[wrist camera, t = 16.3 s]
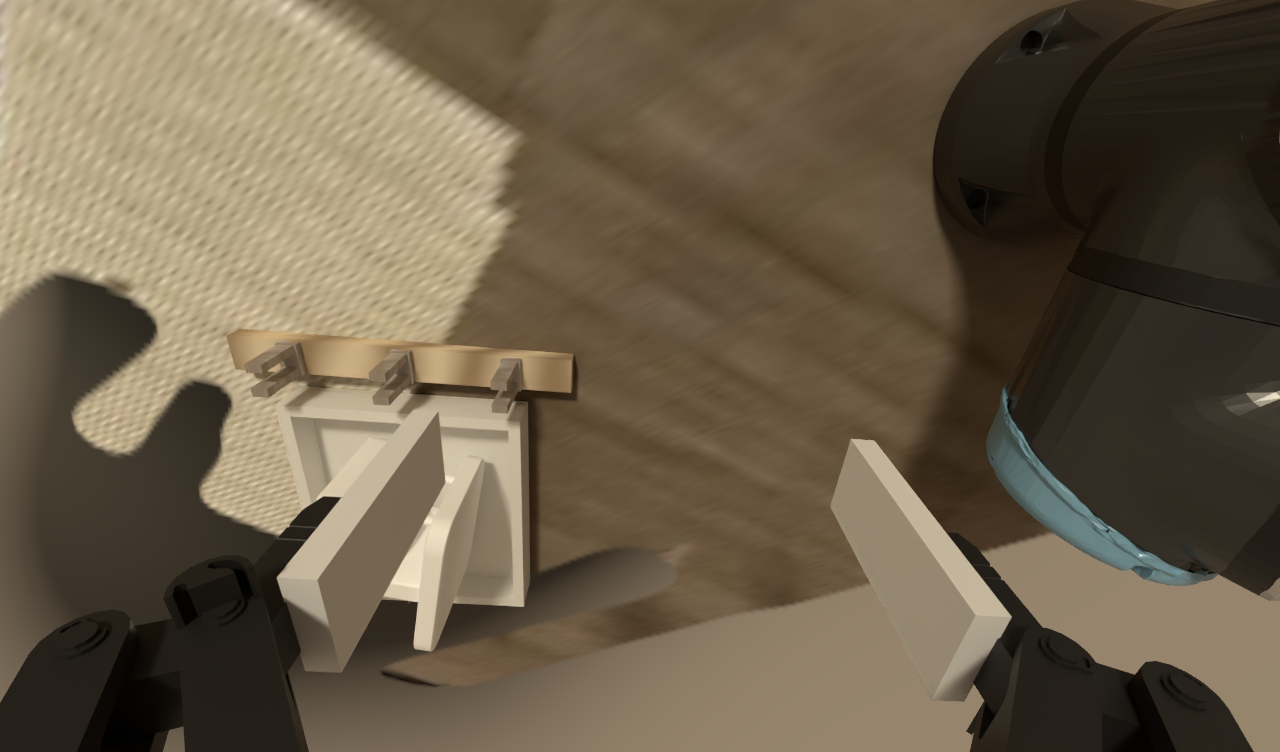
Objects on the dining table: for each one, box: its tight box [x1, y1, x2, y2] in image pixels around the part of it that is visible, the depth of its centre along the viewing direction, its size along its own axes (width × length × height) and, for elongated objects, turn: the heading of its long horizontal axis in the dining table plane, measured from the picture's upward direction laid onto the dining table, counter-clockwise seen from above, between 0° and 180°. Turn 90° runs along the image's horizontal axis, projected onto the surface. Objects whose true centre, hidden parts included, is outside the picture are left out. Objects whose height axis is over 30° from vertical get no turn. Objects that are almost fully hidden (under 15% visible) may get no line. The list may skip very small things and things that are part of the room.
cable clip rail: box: [227, 329, 574, 414], centre depth 41 cm, size 28×3×6 cm, turn 85°
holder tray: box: [275, 386, 530, 607], centre depth 48 cm, size 20×22×4 cm
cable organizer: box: [315, 437, 485, 651], centre depth 44 cm, size 15×11×12 cm
